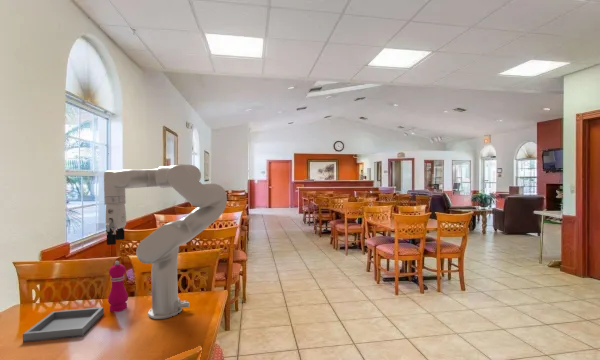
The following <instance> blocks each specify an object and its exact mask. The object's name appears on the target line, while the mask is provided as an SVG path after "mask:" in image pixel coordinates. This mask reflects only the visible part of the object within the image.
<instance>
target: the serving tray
mask: <svg viewBox="0 0 600 360" xmlns="http://www.w3.org/2000/svg"><path fill="white" fill-rule="evenodd" d="M104 314H105V308H104V307H103V306H100V307H91V308H90V307H89V308H78V309H67V310H65V309H63V310H53V311H52V312H49V314H48V315H46V316H45V317H44V318H42V319H41V320H40V321H38V322H36V324H34V325H33V326H31V327H30V328H29V329H27V330H26V331H25V332H22V343H29V342H41V341H50V340H58V339H59V340H61V339H69V338H71V339H72V338H80V337H84V336H85V335H86V334H87V332H89V330H90V329H91V328H92V327H93V326H94V325H95V324H96V323H97V322H98V321H99V320H100V318H102V317H103V315H104Z"/></svg>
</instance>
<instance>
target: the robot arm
mask: <svg viewBox="0 0 600 360" xmlns="http://www.w3.org/2000/svg"><path fill="white" fill-rule="evenodd" d="M201 178H202V172H201V170H200V169H199V167H197V166H195V165H193V164H178V163H177V164H174V165H165V166H164V165H161V166H158V168H152V169H150V168H149V169H122V170H121V169H120V170H119V169H118V170H116V169H115V170H113V169H112V170H105V171H104V173H103V186H104V187H103V192H104V193H103V194H104V195H103V196H104V199H103V200H104V205H105V231H106V234H105V235H106V245H108V246H110V245H111V246H113V245H117V241H119V240H125V238H126V236H125V227H126V225H127V212H126V205H125V204H126V202H127V201H126V189H138V188H139V189H140V188H151V187H152V188H153V187H155V188H156V187H160V188H163V189H164V188H173V189H174V190H175V191H176V192H177V193H178V194H179V195H180V196H181V197H182V198H183V199H185V200H186V201H187V202H188V203H189V204H191V205H192V206H194V207H196V208H194V209H193V210H192V211H191V212H190V213H188V214H187V215H186V216H184V217H182V218H180V219H177V220H172V221H169V222H167V223H165V224H162V225H160V226H159V227H158V228H157V229H155V230H154V231H153V232H151V233H150V234H149V235H147V236H146V237H144V238H143V239H142V240H141V241H140V242H139V243H138V245H137V247H136V251H135V252H136V257H137V259H138V261H139V262H141V263H142V264H146V265H150V264H151V272H150V273H151V277H150V278H151V305H152V306H151V308H150V309H149V310H148V312H147V315H148V316H147V317H149V318H151V319H153V320H154V319H155V320H163V319H168V318H169V319H170V318H172V316H173V317H175V316H177V315H179V314H180V313H182V312H183V308H190V301H188V300H180V299H181V298H180V297H179V294H178V290H179V288H178V257H179V251H180V246H183V245H185V244H187V243H188V242H190V241H191V240H193V239H194V238H195V237H197V236H198V235H199V234H201V233H202V232H204V231H205V229H207V228H208V227H209V226H211V225H212V224H213V223H215V221H217V220H218V219H219V218H220V217H221V216H222V214H223V213H224V211H225V209H226V207H227V202H228V201H227V200H228V196H227V192H226V189H225V188H224V187H223V185H220V184H217V183H202V182H201ZM178 313H179V314H178Z"/></svg>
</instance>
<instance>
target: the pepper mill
mask: <svg viewBox="0 0 600 360" xmlns="http://www.w3.org/2000/svg"><path fill="white" fill-rule="evenodd" d="M126 270H127V269H126V267H125V265H124V264H121V263H120V261H119V260H115V262H114V265H112V266H110V268H109V269H108V275H109V276H110V282H111V289H110V292H109V294H108V299H107V303H108V304H109V312H111V313H117V312H118V313H119V312H122V311H124V310H126V309H127V308H128V303H127V301H128V299H129V294H128V292H127V290H126V288H125V285H124V280H125V274H126V272H127V271H126Z"/></svg>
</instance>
